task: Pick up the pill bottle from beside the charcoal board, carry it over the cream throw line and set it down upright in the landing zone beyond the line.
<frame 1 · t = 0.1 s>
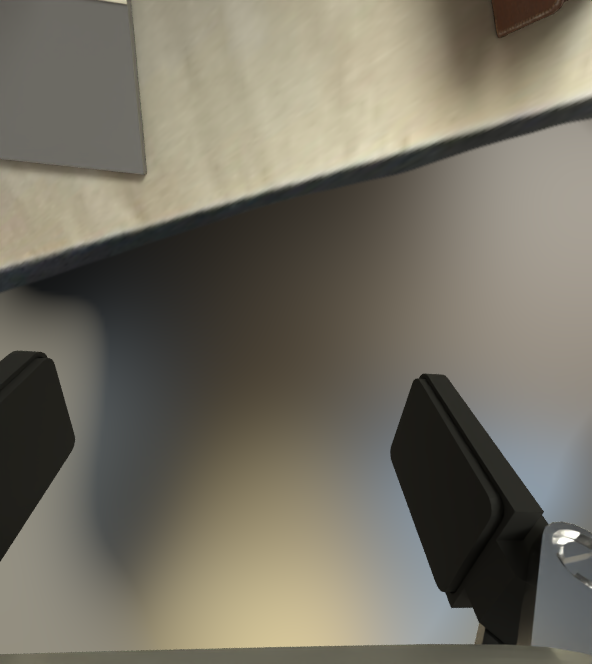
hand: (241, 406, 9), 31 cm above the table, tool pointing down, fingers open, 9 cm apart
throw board: (53, 63, 30), on the table
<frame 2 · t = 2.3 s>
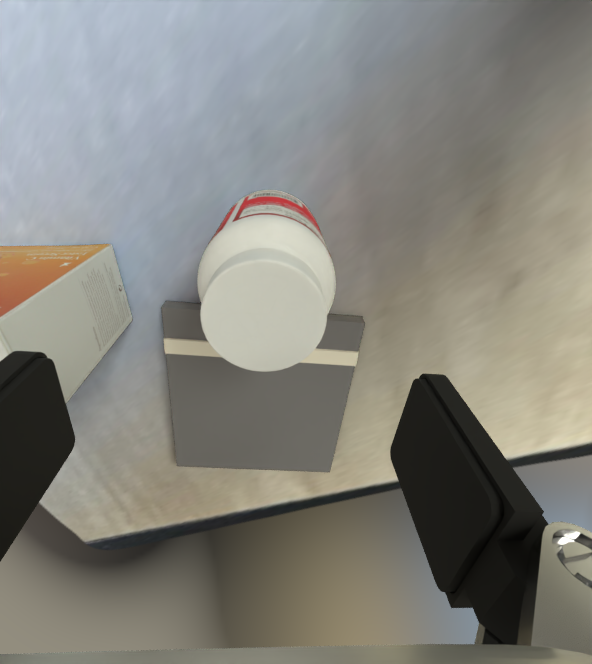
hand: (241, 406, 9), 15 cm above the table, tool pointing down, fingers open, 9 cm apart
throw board: (260, 395, 29), on the table
pill bottle: (271, 238, 22), on the table
small box: (66, 283, 23), on the table
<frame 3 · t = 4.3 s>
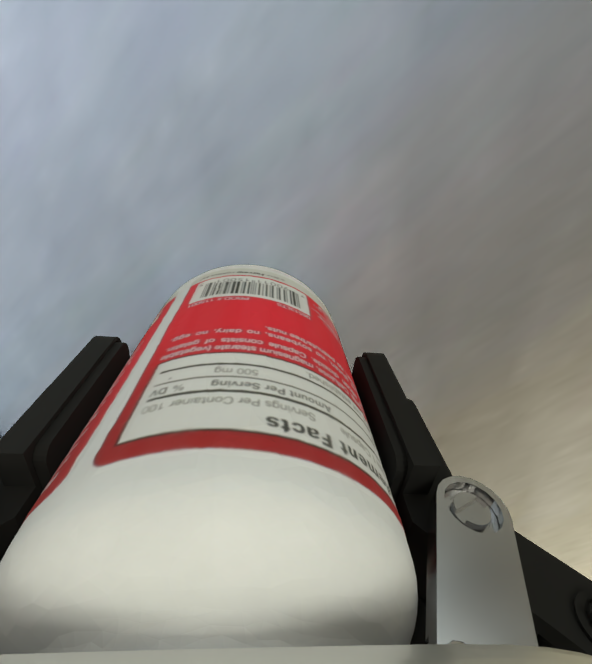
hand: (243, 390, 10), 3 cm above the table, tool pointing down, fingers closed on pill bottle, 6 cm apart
pill bottle: (249, 340, 12), on the table, touching gripper
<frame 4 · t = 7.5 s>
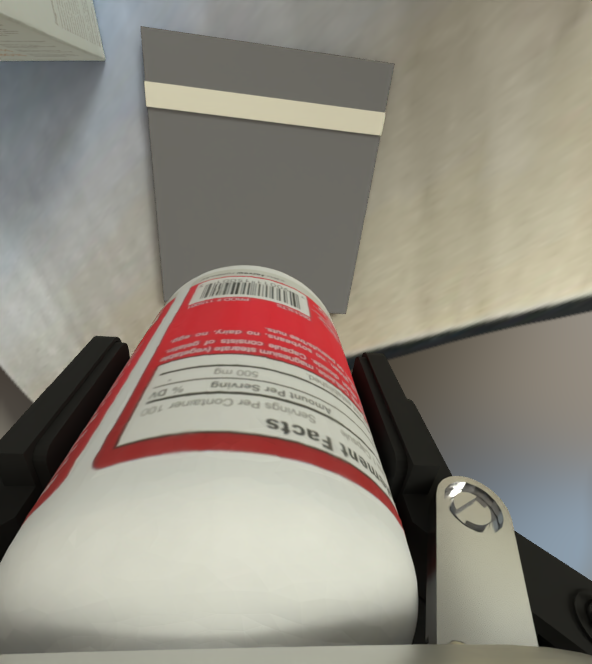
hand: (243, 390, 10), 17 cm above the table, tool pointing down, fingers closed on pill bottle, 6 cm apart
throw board: (263, 196, 24), on the table
pill bottle: (249, 340, 12), point 15 cm above the table, touching gripper
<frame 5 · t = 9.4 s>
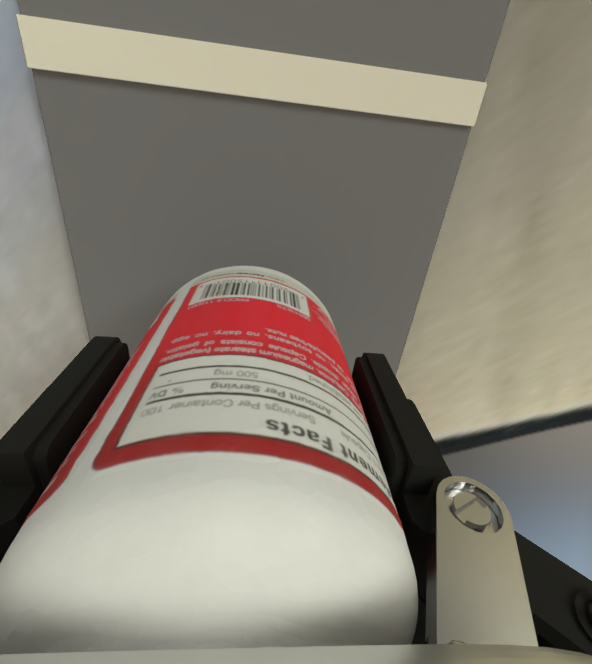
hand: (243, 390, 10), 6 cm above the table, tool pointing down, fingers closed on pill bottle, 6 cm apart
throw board: (259, 230, 14), on the table
pill bottle: (249, 341, 12), point 4 cm above the table, touching gripper
when the fingers open (4 cm above the table, at t = 10.8 s): pill bottle stays where it is, resting on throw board.
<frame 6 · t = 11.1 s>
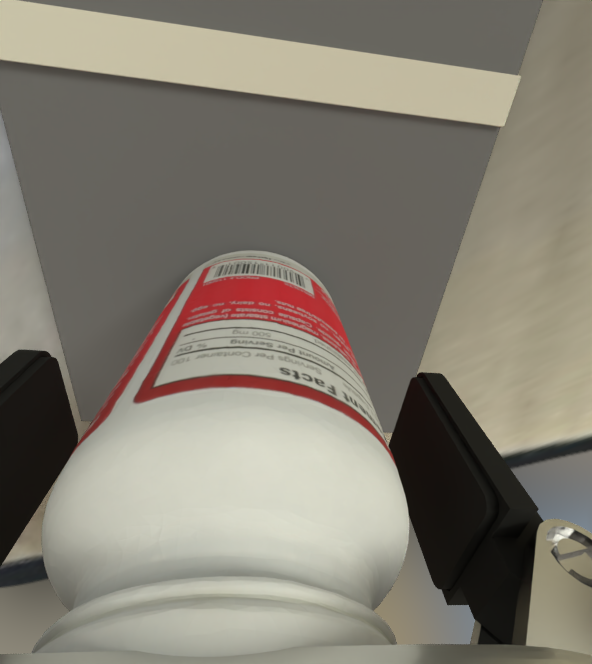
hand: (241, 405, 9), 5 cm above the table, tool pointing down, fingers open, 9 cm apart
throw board: (256, 244, 13), on the table
pill bottle: (255, 323, 13), point 1 cm above the table, touching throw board
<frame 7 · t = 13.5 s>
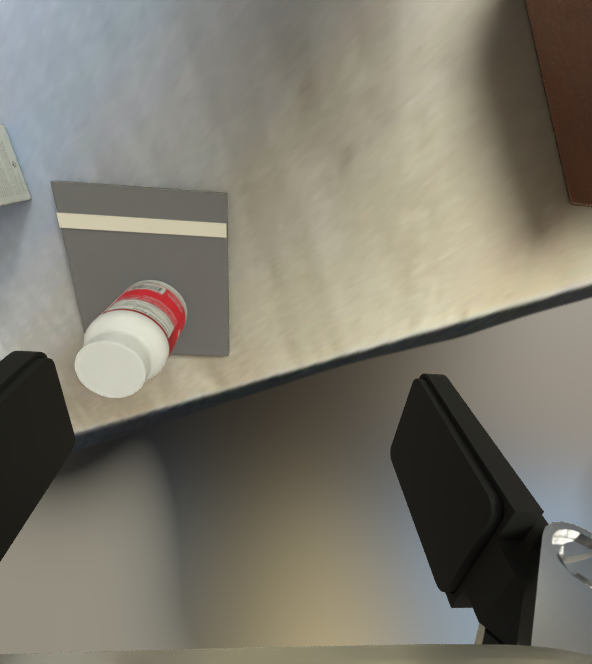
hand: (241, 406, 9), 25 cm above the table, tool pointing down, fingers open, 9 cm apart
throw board: (154, 276, 33), on the table
pill bottle: (156, 307, 34), point 1 cm above the table, touching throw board
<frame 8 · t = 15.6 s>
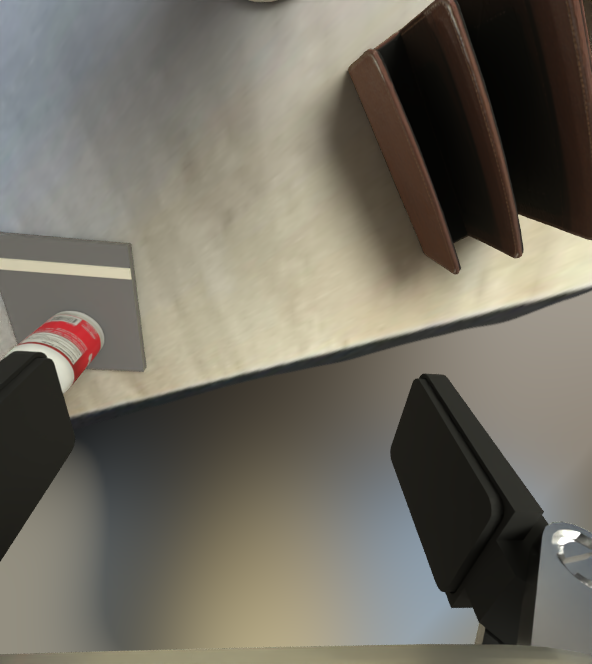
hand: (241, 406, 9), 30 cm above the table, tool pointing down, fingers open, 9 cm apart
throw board: (76, 306, 40), on the table
letter holder: (434, 145, 34), on the table
pill bottle: (79, 331, 41), point 1 cm above the table, touching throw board
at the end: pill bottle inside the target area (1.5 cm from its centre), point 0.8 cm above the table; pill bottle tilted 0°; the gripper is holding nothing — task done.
